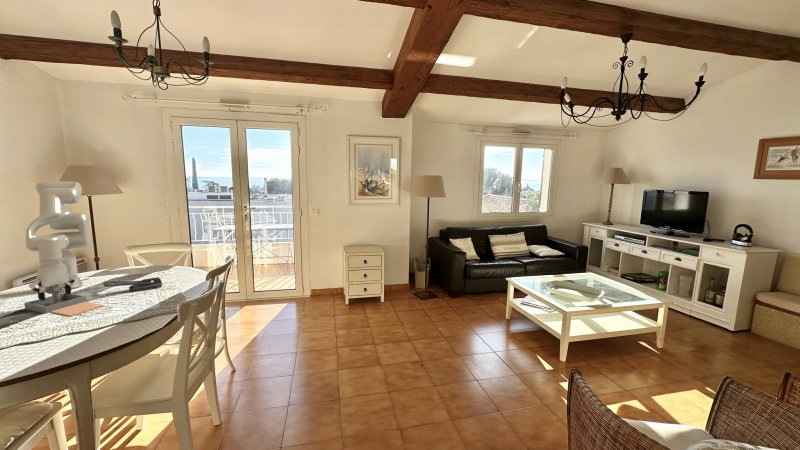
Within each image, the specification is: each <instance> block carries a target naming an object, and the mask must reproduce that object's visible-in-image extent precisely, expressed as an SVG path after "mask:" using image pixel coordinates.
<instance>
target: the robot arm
mask: <svg viewBox="0 0 800 450" xmlns="http://www.w3.org/2000/svg"><path fill="white" fill-rule="evenodd" d="M35 189H36V192H37V193H38V194H39V215H38V217H35V219H33V220H32V222H30V223H29V225H28V226H27V228H26V230H25V246H26V248H27V250H29V251H31V252H38V258H39V266H38V267H37V270H36V280H35V281H33V282H31V283H30V284H28V287H29V288H30V289H31V291H33V292H36V293H37V298H38V299H40V300H43V301H44V300H46V299H45V298H46V292H45V288H46V287H51V286H56V285H59V287H60V286H64V287H65V292H64V293H66V294H71V293H72V289H76V288H80V287H82V286H83V284H84V283H83V281H88V280H89V279H90V277H89V276H84V277H83V276H79V274H78V265H77V257H76V255H75V253H74V252H72V251H71V249H72V250H73V249H81V248H82V249H83V248H88V247H90V246H91V243H92V239H91V238H92V235H91V227H90V226H91V225H90V221H89V217H88V215H87V213H85V212H82V211H81V212H78V211H77V212H76V211H75V212H71V210H70V205H72V204H75V205H76V204H78V203H80V200H81V197H82V194H83V187H82V185H81V183H79V182H77V181H65V180H64V181H63V180H62V181H59V180H58V181H55V180H53V181H52V180H51V181H50V180H49V181H48V180H47V181H39V182H37V183H36V184H35ZM47 225H49V228H50V229H52V230H55V231H60V230H61V231H62V232H54V233H50V234H40V235H36V233H37V231H39V229H40V228H43V227H44V226H47ZM66 230H77V231H66ZM36 286H37V287H36Z"/></svg>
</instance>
